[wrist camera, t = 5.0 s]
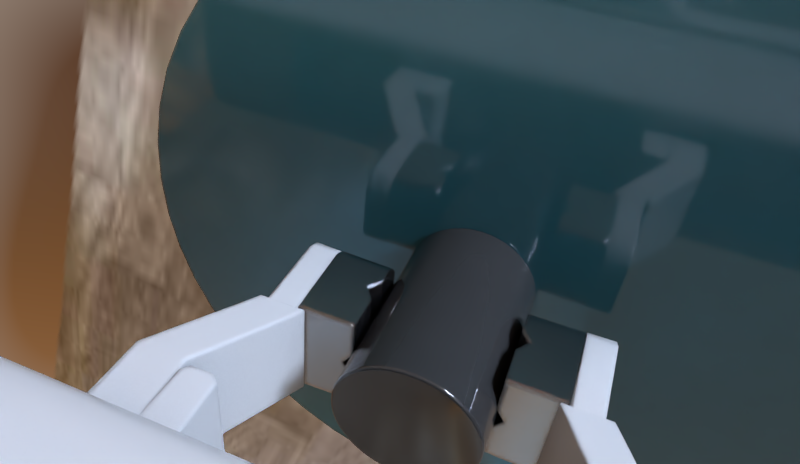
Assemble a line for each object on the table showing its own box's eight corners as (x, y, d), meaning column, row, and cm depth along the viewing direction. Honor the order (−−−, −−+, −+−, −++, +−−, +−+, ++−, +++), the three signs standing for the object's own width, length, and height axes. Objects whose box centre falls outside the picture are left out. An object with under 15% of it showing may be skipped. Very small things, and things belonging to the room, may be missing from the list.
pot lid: (1176, -39, 8) (1565, 165, 4) (711, 547, 16) (708, 777, 13) (151, -215, 11) (-132, -186, 7) (216, 355, 19) (102, 496, 16)
